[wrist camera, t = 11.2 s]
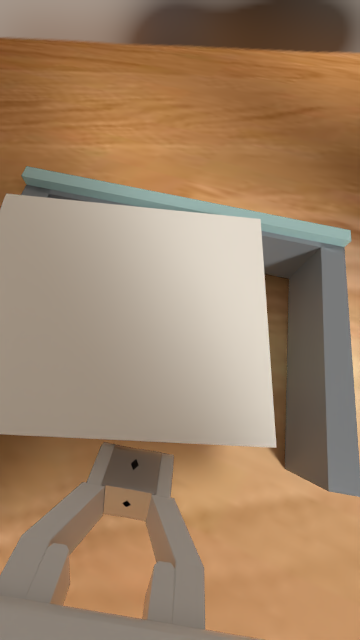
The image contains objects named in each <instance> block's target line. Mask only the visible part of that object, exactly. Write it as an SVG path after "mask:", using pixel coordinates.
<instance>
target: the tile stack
mask: <svg viewBox="0 0 360 640" xmlns="http://www.w3.org/2000/svg"><path fill="white" fill-rule="evenodd" d="M0 434H5V435H25V436H46V437H66V438H87V439H107V440H128V441H149V442H169V443H190V444H210V445H231V446H251V447H272V448H276V433H275V419H274V405H273V390H272V376H271V362H270V347H269V333H268V319H267V304H266V290H265V276H264V261H263V247H262V233H261V219H256V218H246V217H236V216H226V215H216V214H206V213H196V212H186V211H176V210H166V209H156V208H146V207H136V206H126V205H116V204H106V203H96V202H86V201H76V200H66V199H56V198H46V197H36V196H26V195H16V194H6V195H5V198H4V201H3V203H2V206H1V209H0Z"/></svg>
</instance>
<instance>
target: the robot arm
mask: <svg viewBox="0 0 360 640" xmlns="http://www.w3.org/2000/svg"><path fill="white" fill-rule="evenodd" d="M173 464H174V455H172V454H165V453H162V452H156V451H150V450H143V449H136V448H130V447H125V446H120V445H116V444H110V443H105V442H104V443H103V444H102V446H101V448H100V450H99V453H98V455H97V458H96V460H95V463H94V465H93V468H92V470H91V473H90V475H89V478H88V480H87V483H86V482H82V483H81V484H80V485H79V486H78V487H77V488H75V489H74V490H73V491H72V492H71V493H70V494H69V495H67V496H66V497H65V498H64V499H63V500H62V501H61V502H59V503H58V504H57V505H56V506H55V507H54V508H53V509H51V510H50V511H49V512H48V513H47V514H46V515H45V516H43V517H42V518H41V519H40V520H39V521H38V522H37V523H35V524H34V525H33V526H32V527H31V528H30V529H29V530H27V531H26V532H25V533H24V534H23V535H22V536H21V538H20V540H19V541H18V543H17V545H16V547H15V549H14V551H13V553H12V554H11V556H10V558H9V560H8V562H7V564H6V566H5V567H4V569H3V571H2V573H1V575H0V640H264V639H258V638H252V637H246V636H241V635H235V634H229V633H223V632H217V631H211V630H205V594H204V567H203V564H202V562H201V560H200V557H199V555H198V553H197V550H196V548H195V546H194V543H193V541H192V539H191V536H190V534H189V532H188V530H187V527H186V525H185V523H184V520H183V518H182V516H181V513H180V511H179V509H178V506H177V504H176V502H175V499H174V498H170V496H171V486H172V475H173ZM103 514H106V515H113V516H120V517H126V518H131V519H136V520H141V521H145V522H146V526H147V529H148V533H149V537H150V540H151V544H152V548H153V551H154V555H155V559H156V562H157V563H156V564H155V566H154V569H153V572H152V575H151V579H150V582H149V586H148V589H147V592H146V596H145V602H144V609H143V617H142V619H139V618H133V617H128V616H122V615H116V614H110V613H104V612H98V611H92V610H86V609H80V608H74V607H68V606H63V604H64V601H65V598H66V595H67V592H68V589H69V586H70V568H69V555H70V554H71V553H72V551H73V550H74V549H75V548H76V547H77V546H78V544H79V543H80V542H81V541H82V540H83V538H84V537H85V536H86V535H87V534H88V533H89V531H90V530H91V529H92V528H93V527H94V525H95V524H96V523H97V522H98V521H99V520H100V518H101V517H102V516H103Z"/></svg>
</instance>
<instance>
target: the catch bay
mask: <svg viewBox="0 0 360 640" xmlns="http://www.w3.org/2000/svg"><path fill="white" fill-rule="evenodd" d="M22 178H23V179H24V181H25V183H26V184H27V185H26V187H25V189H24V190H23V192H22V194H21V195H26V196H36V197H46V198H56V199H66V200H76V201H86V202H96V203H106V204H116V205H126V206H136V207H146V208H156V209H166V210H176V211H186V212H196V213H206V214H216V215H226V216H236V217H246V218H256V219H261V233H262V247H263V261H264V274H268V275H273V276H278V277H283V278H288V279H289V294H288V340H287V385H286V431H285V469H286V470H288V471H290V472H292V473H294V474H296V475H298V476H300V477H302V478H304V479H306V480H308V481H310V482H312V483H313V484H315V485H317V486H319V487H321V488H323V489H325V490H327V491H330V492H336V493H341V494H347V495H352V496H358V497H360V465H359V451H358V437H357V422H356V408H355V394H354V379H353V365H352V351H351V336H350V322H349V308H348V293H347V279H346V265H345V250H344V247H345V246H346V245H347V244H348V243H350V242H351V230H346V229H341V228H336V227H331V226H326V225H321V224H316V223H311V222H306V221H301V220H296V219H291V218H286V217H281V216H276V215H270V214H265V213H260V212H255V211H250V210H245V209H240V208H235V207H230V206H225V205H220V204H215V203H210V202H205V201H200V200H195V199H190V198H185V197H180V196H175V195H170V194H165V193H159V192H154V191H149V190H144V189H139V188H134V187H129V186H124V185H119V184H114V183H109V182H104V181H99V180H94V179H89V178H84V177H79V176H74V175H69V174H64V173H59V172H53V171H48V170H43V169H38V168H33V167H28V166H26V168H25V170H24V172H23V174H22Z"/></svg>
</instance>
